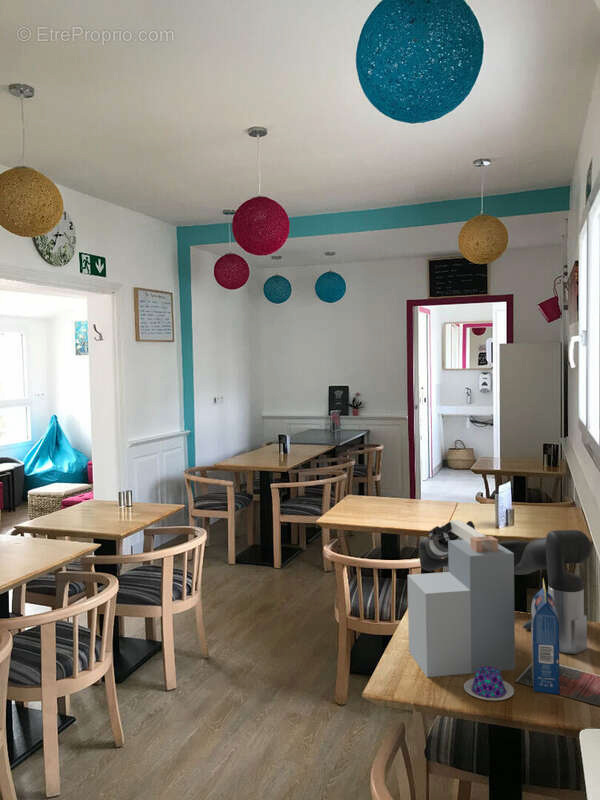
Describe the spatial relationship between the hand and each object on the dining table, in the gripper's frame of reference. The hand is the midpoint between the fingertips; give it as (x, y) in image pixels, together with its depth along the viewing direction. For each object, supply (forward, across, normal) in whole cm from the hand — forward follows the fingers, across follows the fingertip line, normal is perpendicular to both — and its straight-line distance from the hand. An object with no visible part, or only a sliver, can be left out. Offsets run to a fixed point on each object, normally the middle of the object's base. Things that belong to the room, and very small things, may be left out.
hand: (460, 524), depth 198 cm
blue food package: (+9, +10, +44) cm, 46 cm away
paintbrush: (-20, +30, +28) cm, 45 cm away
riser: (-5, -6, +36) cm, 37 cm away
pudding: (+10, -5, +45) cm, 47 cm away
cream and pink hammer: (+5, 0, +6) cm, 7 cm away
